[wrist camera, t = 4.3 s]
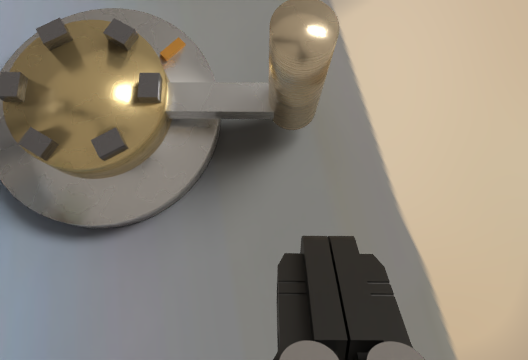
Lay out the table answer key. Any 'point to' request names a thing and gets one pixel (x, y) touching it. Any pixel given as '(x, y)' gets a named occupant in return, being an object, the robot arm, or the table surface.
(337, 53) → the table surface
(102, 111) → the crank handle
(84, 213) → the plate
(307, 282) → the robot arm
